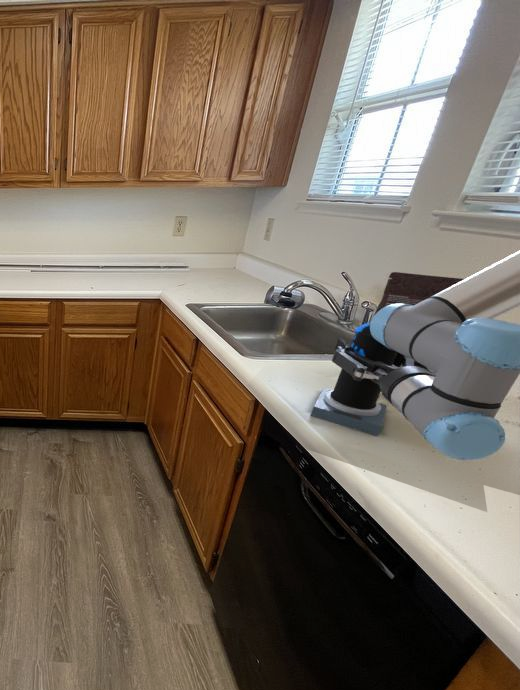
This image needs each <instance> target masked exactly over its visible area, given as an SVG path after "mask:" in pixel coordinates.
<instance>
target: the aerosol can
mask: <svg viewBox="0 0 520 690" xmlns="http://www.w3.org/2000/svg"><path fill="white" fill-rule="evenodd" d="M370 324H371V322H366V323H364V324H361V325H359V326H357V327H356V328H354V332H355V333H354V336H353V338H352V341H351V344H350V346H351V347H352V348H353V349H354V352H355V353H357V354H359V355H361V356H363V357H365V358H368V359H370V360H372V361H374V362H378V361H380V362H383V363H385V364H387V365H389V366H392V365H393V363H394V360H395V358H396V356H397V353H398V352H397V351H394V350H390V349H389V348H387V347H386V346H384V345H383V344H381V343H380V342H378V341H377V340H376V339H374V337H373V336H372V335H371V331H370ZM334 385H335V386H334V388H333V389H332V390H333V392H331V397H332V398H333V399H334V400H335V401H337V402H339V403H341V404H343V405H346V406H349V407H353V408H357V409H373V408H375V407H376V402H378V399H379V397H380V395H381V390H380V386H379V385H378V384H377V383H374V382H373V381H372V380H371V379H368V378H363V379H361V381H356V380H354V379H353V377H352V375H350V374H349V373H347V372H346V371H345V370H343V369H342V368H341V370H340V372H339V375H338V377H337V380H336V383H335V384H334Z"/></svg>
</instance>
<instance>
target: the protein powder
mask: <svg viewBox="0 0 520 690" xmlns="http://www.w3.org/2000/svg"><path fill="white" fill-rule="evenodd" d="M464 279H465V278H461V277H460V278H459V277H449V276H438V275H429V274H428V275H427V274H417V273H408V272H399V271H392V272H391V273H390V274H389V276H388V279H387V282H386V285H385V288H384V289H383V290H384V292H383V295H382V298H381V300H380V302H379V304H378V305H377V307H376V310H375V311H374V315H373V317H374V316H375V314H376V313H377V312H378V311H380V310H381V309H382V308H384V307H386V306H388V305H391V304H396V303H404V304H411V305H413V306H414V305H416V304H418V303H420V302H422V301H424V300H426V299H428V298H430V297H431V296H433V295H435V294H437V293H439V292H441V291H443V290H445V289H447V288H449V287H451V286H453V285H455V284H456V283H458V282H460V281H462V280H464ZM392 366H395V365H392ZM395 367H396V366H395ZM401 367H402V364H401V366H400V367H397V368H401Z"/></svg>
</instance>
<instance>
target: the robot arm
mask: <svg viewBox="0 0 520 690" xmlns="http://www.w3.org/2000/svg"><path fill="white" fill-rule="evenodd" d="M463 279H464V280H462V281H460V282H458V283H456V284H455V285H453V286H451V287H449V288H447V289H445V290H443V291H441V292H439V293H437V294H435V295H433V296H431V297H430V298H428V299H426V300H424V301H422V302H420V303H418V304H416V305H414V306H413V305H411V304H404V303H396V304H391V305H388V306H386V307H384V308H382V309H381V310H380V311H378V312H377V313H376V314H375V313H374V314H375V316H374V315H373V317H372V319H371V321H370V323H371V324H370V331H371V335H372V336H373V337H374V339H376V340H377V341H378V342H380V343H381V344H383V345H384V346H386V347H387V348H389V349H390V350H394V351H397V352H398V353H397V356H396V358H395V360H394V363H393V365H395V366H396V367H395V366H389V365H387V364H385V363H383V362H380V361H378V362H374V361H372V360H370V359H368V358H365V357H363V356H361V355H359V354H357V353H355V352H354V349H353V348H352V347H351V344H349V343H347V341H346V340H344V339H343V338H338V339H337V342H336V345H335V347H334V353H333V355H332V359H331V362H332V363H334V364H335V365H336V366H337V367H339V368H341V369H343V370H345V371H346V372H347V373H349V374H350V375H352V377H353V379H354V380H356V381H361V379H363V378H368V379H371V380H372V381H373V382H374V383H377V384H378V385H379V386H380V390H381V392H380V394H381V395H382V396H383V398H384V399H386V401H388V403H389V404H390V405H391V406H392V407H394V408H395V409H396V410H397V411H398V412H399V413H400V414H401V415H402V417H404V418H405V419H406V420H407V421H408V422H409V423H410V425H411V426H412V427H413V428H414V429H415V430H416V431H417V432H418V433H419V434H420V435H421V436H422V437H423V439H424V440H425V441H426V442H427V443H428V444H430V445H431V446H432V447H433V448H434V449H436V450H437V451H438V452H440V453H442V454H443V455H444V456H446V457H448V458H450V459H455V460H458V461H476V460H481V459H484V458H487V457H490V456H492V455H493V454H495V453H497V452H498V451H499V450H500V449H501V448H502V447H503V446H504V444H505V442H506V432H505V428H504V427H503V426H502V425H501V423H500V422H499V420H498V419H496V418H495V417H496V415H497V414H498V413H499V410H500V409H501V407H502V403H503V402H504V400H505V398H506V397H507V396H508V393H509V392H510V391H511V389H512V387H513V385H514V384H515V382H516V381H517V380H518V377H519V376H520V324H519V323H516V322H509V321H505V320H500V319H496V318H498V317H500V316H503V315H505V314H507V313H509V312H511V311H513V310H515V309H518V308H520V250H518V251H516V252H514V253H512V254H510V255H509V256H506V257H504V258H502V259H501V260H498V261H497V262H495V263H493V264H491V265H489V266H487V267H485V268H484V269H481V270H480V271H478V272H476V273H474V274H472V275H470V276H468V277H466V278H463ZM401 364H402V367H401V368H397V367H400V366H401Z"/></svg>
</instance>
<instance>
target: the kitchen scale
mask: <svg viewBox="0 0 520 690" xmlns="http://www.w3.org/2000/svg"><path fill="white" fill-rule="evenodd" d="M333 390H334V389H329V388H325V387H323V388H322V389H321V392H320V394H319V396H318V398H317V399H316V401H315V402H314V405H313V407H312V410H311V413H310V416H311V417H313V418H318V419H320V420H324V421H326V422H330V423H333V424H336V425H339V426H343V427H347V428H350V429H353V430H356V431H358V432H363V433H366V434H369V435H372V436H375V437H379V436H380V433H381V431H382V429H383V427H384V421H385V417H386V412H387V408H388V404H385V403H381V402H378V401H376V407H375V408H373V409H357V408H353V407H349V406H346V405H343V404H341V403H339V402H337V401H335V400H334V399H333V398H332V397H331V392H333Z"/></svg>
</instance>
